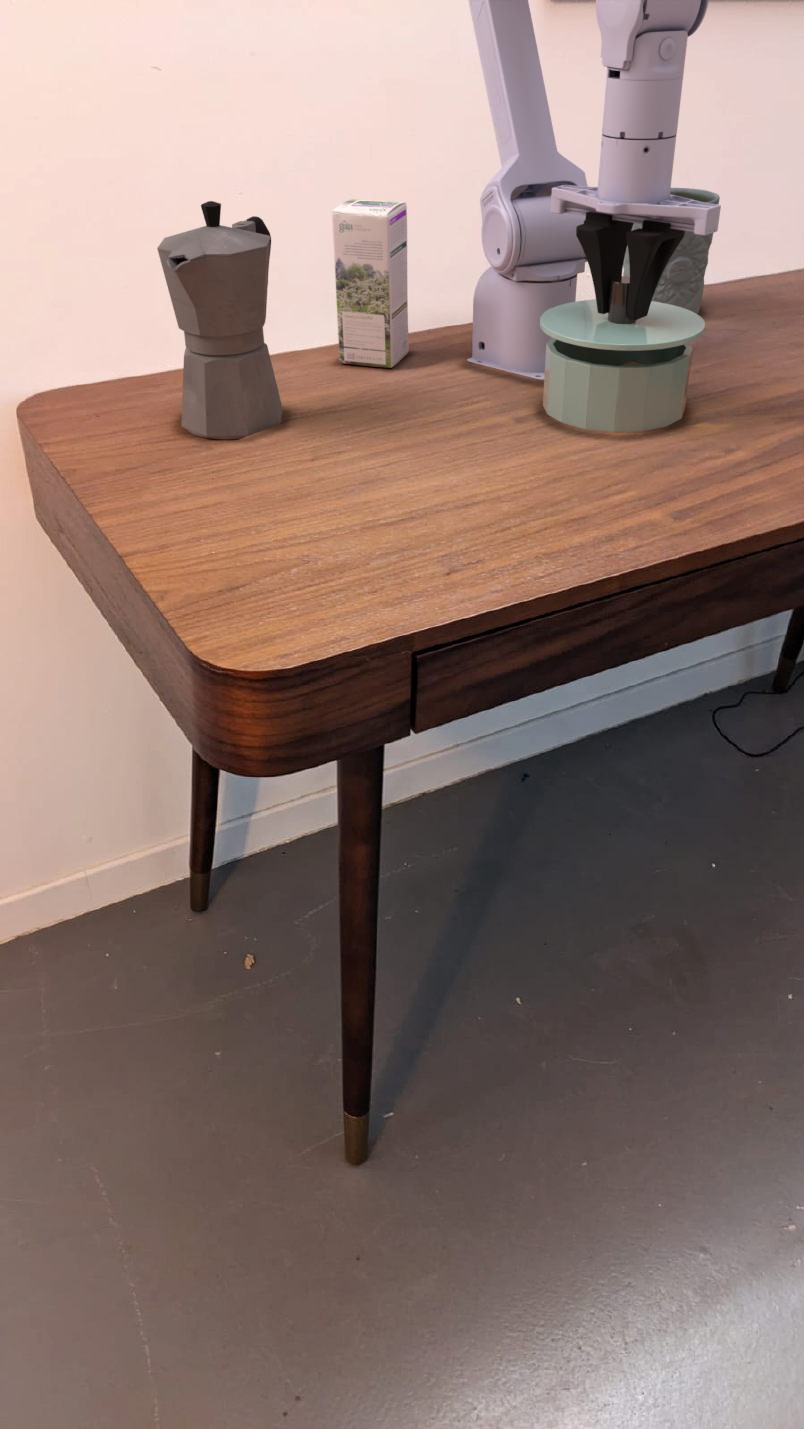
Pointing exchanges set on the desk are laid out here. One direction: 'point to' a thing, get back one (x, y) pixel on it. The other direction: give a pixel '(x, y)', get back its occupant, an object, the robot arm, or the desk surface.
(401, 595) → the desk surface
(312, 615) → the desk surface
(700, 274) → the drinking glass
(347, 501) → the desk surface
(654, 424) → the pot
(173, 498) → the desk surface
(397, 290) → the syrup box
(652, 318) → the lid
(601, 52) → the robot arm
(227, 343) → the coffeepot
